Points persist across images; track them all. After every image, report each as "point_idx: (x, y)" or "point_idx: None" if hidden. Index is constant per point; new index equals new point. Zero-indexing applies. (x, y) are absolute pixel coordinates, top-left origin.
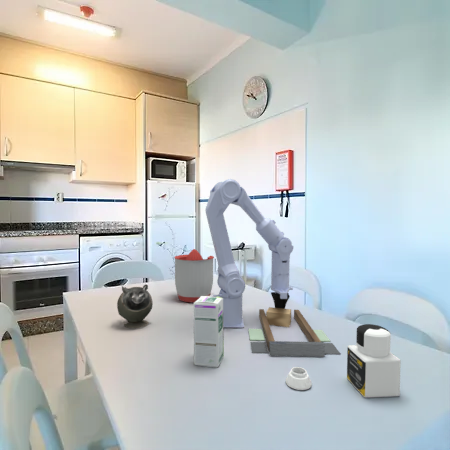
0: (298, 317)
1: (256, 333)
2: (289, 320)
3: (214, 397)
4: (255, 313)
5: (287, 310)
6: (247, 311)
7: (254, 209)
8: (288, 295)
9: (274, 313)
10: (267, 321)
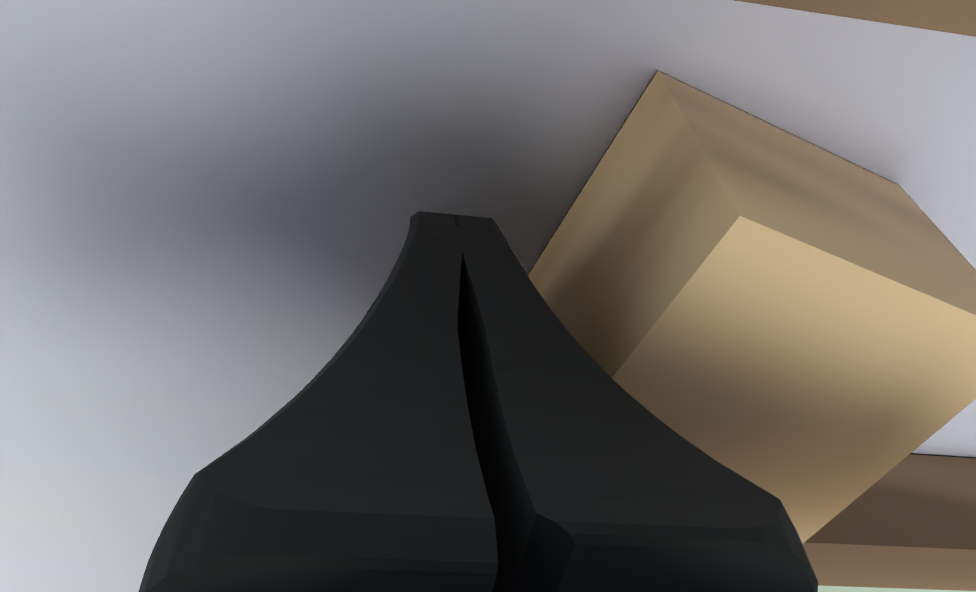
0: (919, 20)
1: None
2: (944, 245)
3: None
4: (162, 482)
5: (789, 317)
6: (79, 548)
7: None
8: (715, 574)
9: (808, 518)
10: (902, 550)
